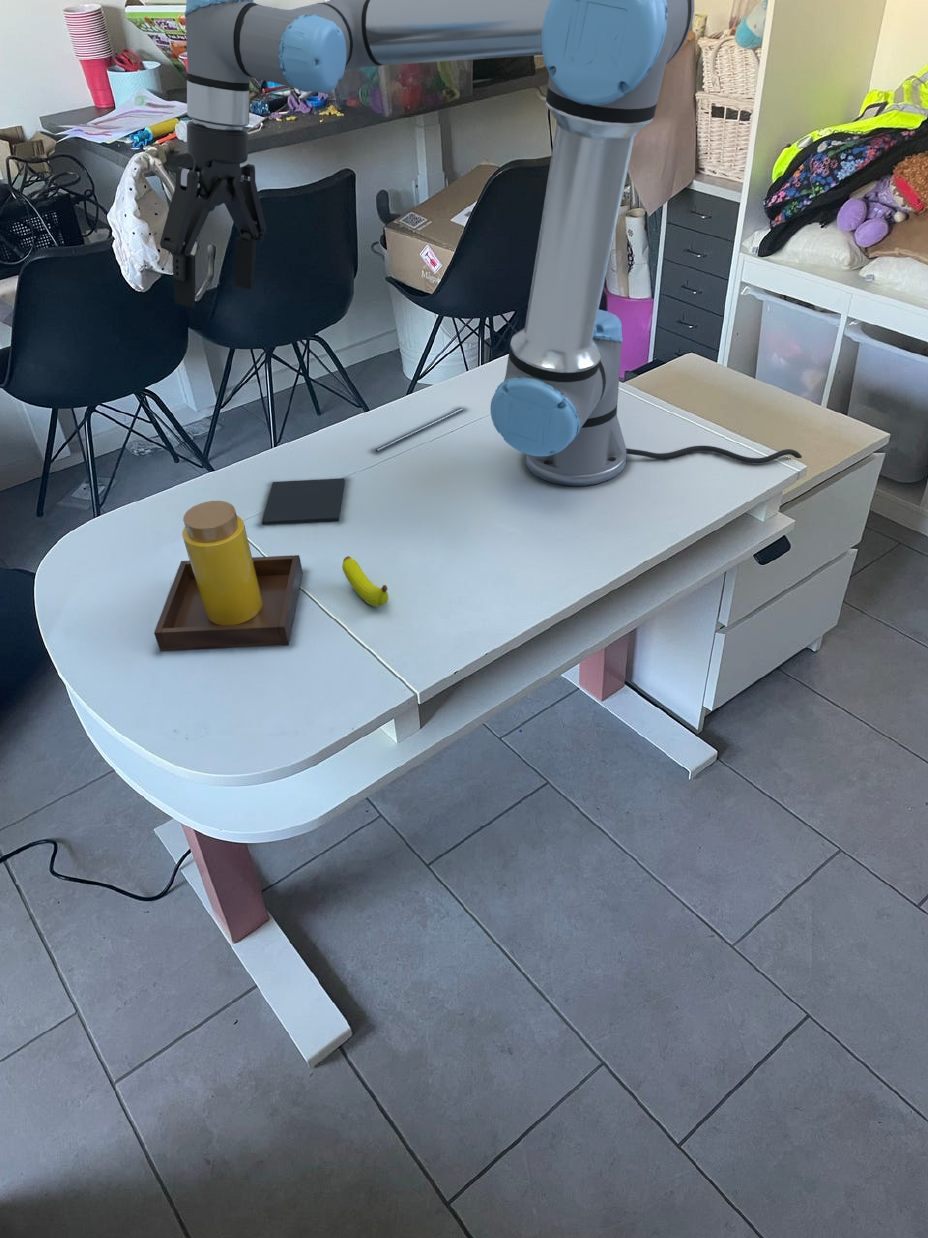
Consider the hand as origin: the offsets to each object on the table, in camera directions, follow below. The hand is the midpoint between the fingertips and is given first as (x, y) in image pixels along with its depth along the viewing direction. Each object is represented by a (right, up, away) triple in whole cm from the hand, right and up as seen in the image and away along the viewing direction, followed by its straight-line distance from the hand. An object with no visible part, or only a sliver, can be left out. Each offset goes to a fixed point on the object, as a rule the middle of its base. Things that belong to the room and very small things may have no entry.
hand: (215, 295), depth 126 cm
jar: (+5, -43, -11) cm, 45 cm away
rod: (+27, -14, +25) cm, 39 cm away
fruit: (+22, -42, -10) cm, 49 cm away
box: (+5, -44, -11) cm, 45 cm away
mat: (+11, -28, +9) cm, 31 cm away
